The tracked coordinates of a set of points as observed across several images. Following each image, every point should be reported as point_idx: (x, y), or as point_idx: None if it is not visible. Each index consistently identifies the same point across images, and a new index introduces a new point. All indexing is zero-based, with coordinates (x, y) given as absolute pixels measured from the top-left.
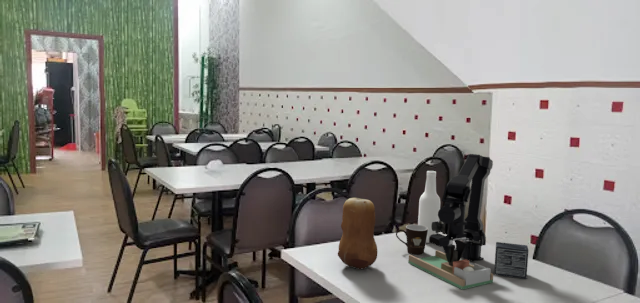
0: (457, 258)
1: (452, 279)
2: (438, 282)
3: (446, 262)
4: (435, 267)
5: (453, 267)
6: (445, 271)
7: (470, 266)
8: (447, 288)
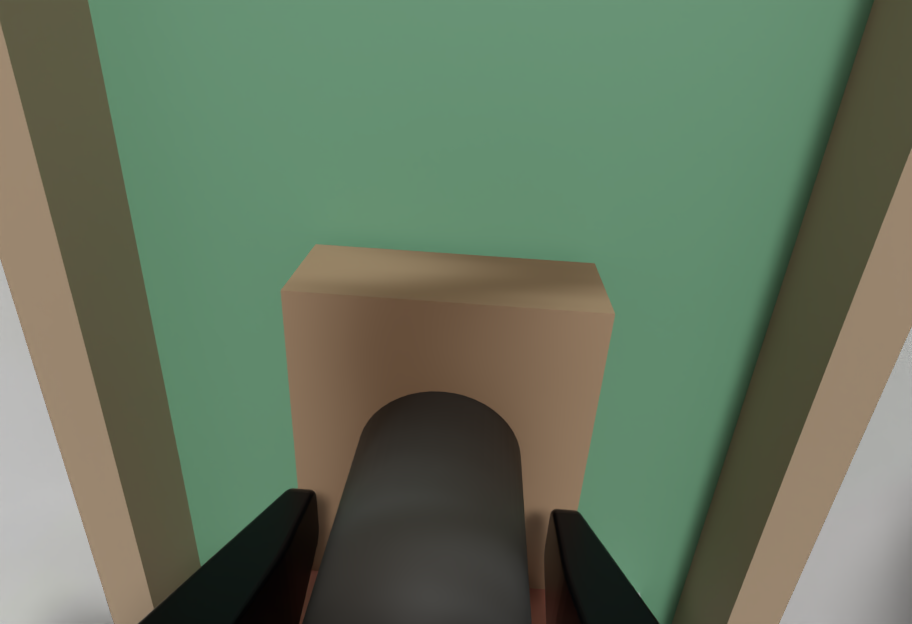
0: (549, 584)
1: None
2: (57, 460)
3: (425, 314)
4: (38, 366)
5: None
6: (119, 549)
7: (740, 556)
8: (71, 594)
